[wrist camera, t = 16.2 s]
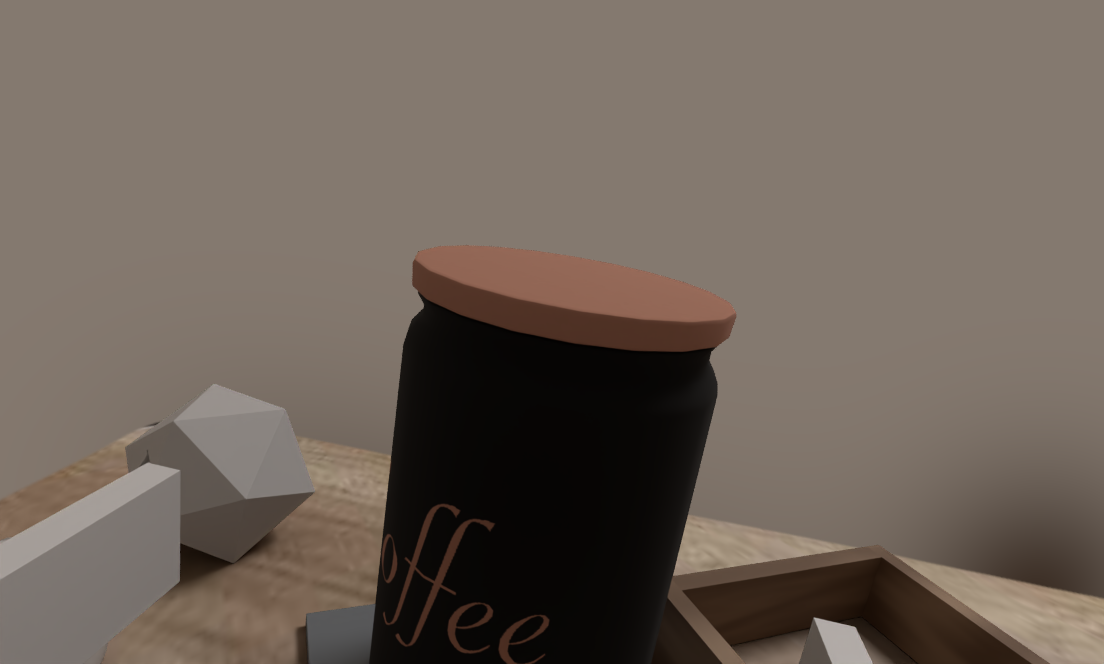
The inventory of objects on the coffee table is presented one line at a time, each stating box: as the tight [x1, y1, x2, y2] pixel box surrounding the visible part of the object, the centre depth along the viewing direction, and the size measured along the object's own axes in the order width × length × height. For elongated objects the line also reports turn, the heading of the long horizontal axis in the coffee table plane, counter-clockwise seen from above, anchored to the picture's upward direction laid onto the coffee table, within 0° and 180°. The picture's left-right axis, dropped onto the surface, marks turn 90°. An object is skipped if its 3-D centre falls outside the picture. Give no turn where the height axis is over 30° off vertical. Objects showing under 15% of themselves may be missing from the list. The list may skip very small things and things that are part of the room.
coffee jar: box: [369, 245, 736, 664], centre depth 23 cm, size 11×11×18 cm
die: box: [125, 384, 315, 563], centre depth 32 cm, size 8×9×10 cm
